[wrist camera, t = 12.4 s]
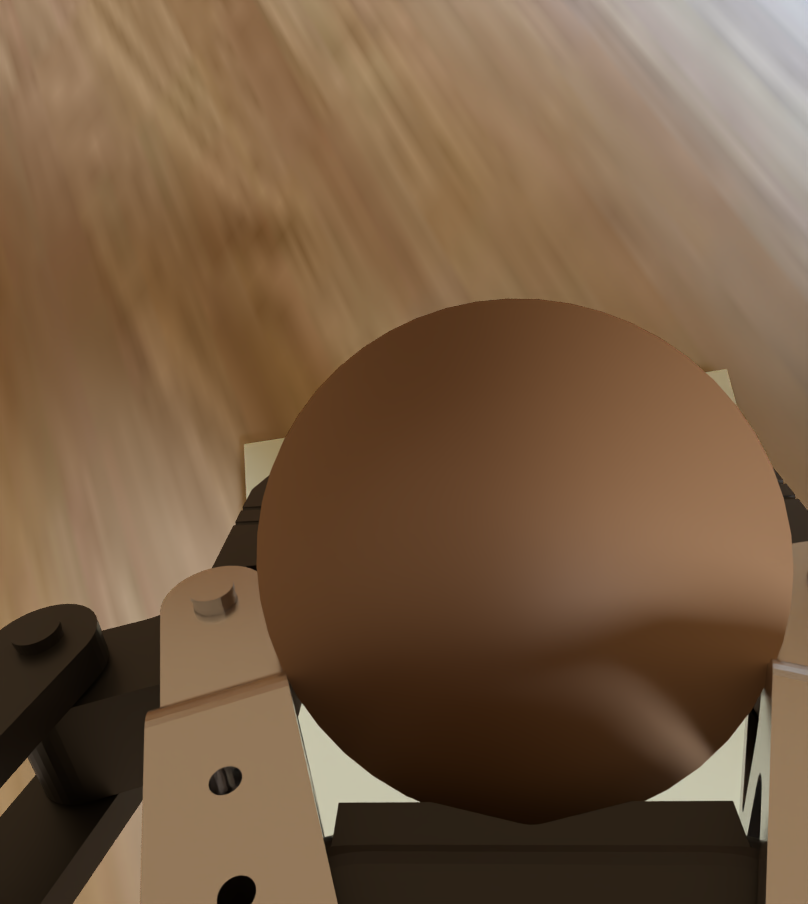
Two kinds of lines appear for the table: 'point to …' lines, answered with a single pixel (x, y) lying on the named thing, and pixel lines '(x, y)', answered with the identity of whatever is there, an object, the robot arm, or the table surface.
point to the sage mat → (353, 783)
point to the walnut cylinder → (524, 560)
